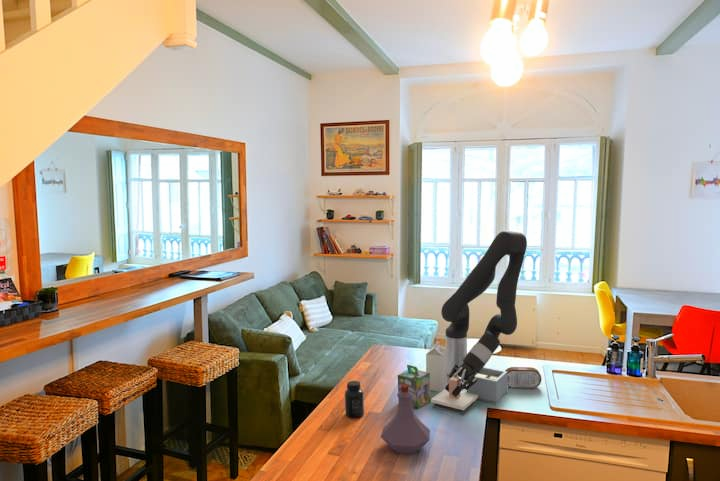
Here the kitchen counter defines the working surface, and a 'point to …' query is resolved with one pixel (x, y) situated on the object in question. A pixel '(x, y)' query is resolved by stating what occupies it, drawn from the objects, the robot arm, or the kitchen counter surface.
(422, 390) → the green handled carton
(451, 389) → the lid
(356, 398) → the supplement bottle
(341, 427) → the kitchen counter surface
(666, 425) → the kitchen counter surface
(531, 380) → the tin
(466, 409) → the mat
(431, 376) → the milk carton
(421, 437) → the flask
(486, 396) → the box
